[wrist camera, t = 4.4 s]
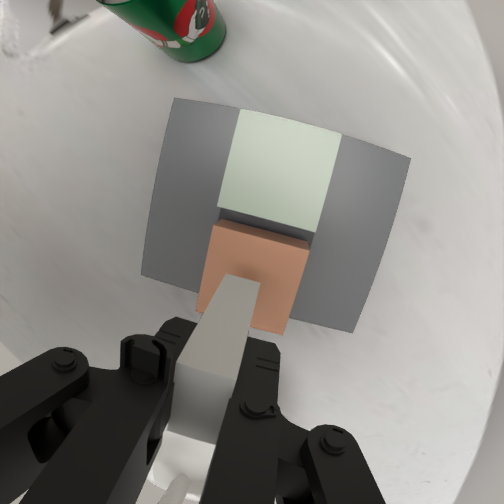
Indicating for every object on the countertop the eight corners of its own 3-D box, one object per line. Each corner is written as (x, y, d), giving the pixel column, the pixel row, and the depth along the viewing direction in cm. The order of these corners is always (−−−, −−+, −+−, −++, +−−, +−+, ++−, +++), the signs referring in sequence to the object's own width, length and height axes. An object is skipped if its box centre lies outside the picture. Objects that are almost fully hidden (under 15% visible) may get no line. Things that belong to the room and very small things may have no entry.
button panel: (161, 258, 25) (139, 275, 21) (192, 107, 22) (173, 97, 17) (344, 308, 24) (353, 334, 20) (391, 159, 21) (412, 158, 17)
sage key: (225, 201, 18) (217, 206, 16) (246, 114, 16) (240, 108, 14) (312, 225, 17) (315, 232, 15) (336, 137, 16) (342, 134, 14)
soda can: (223, 4, 19) (174, -89, 7) (230, 56, 20) (178, -28, 9) (162, 19, 20) (84, -52, 8) (167, 71, 21) (76, 14, 9)
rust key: (204, 297, 19) (195, 311, 17) (221, 218, 18) (213, 225, 16) (283, 319, 19) (282, 335, 17) (307, 241, 18) (309, 250, 16)
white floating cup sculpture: (140, 371, 28) (4, 576, 4) (228, 315, 25) (88, 644, 2) (222, 447, 30) (164, 645, 6) (313, 409, 27) (307, 667, 3)
